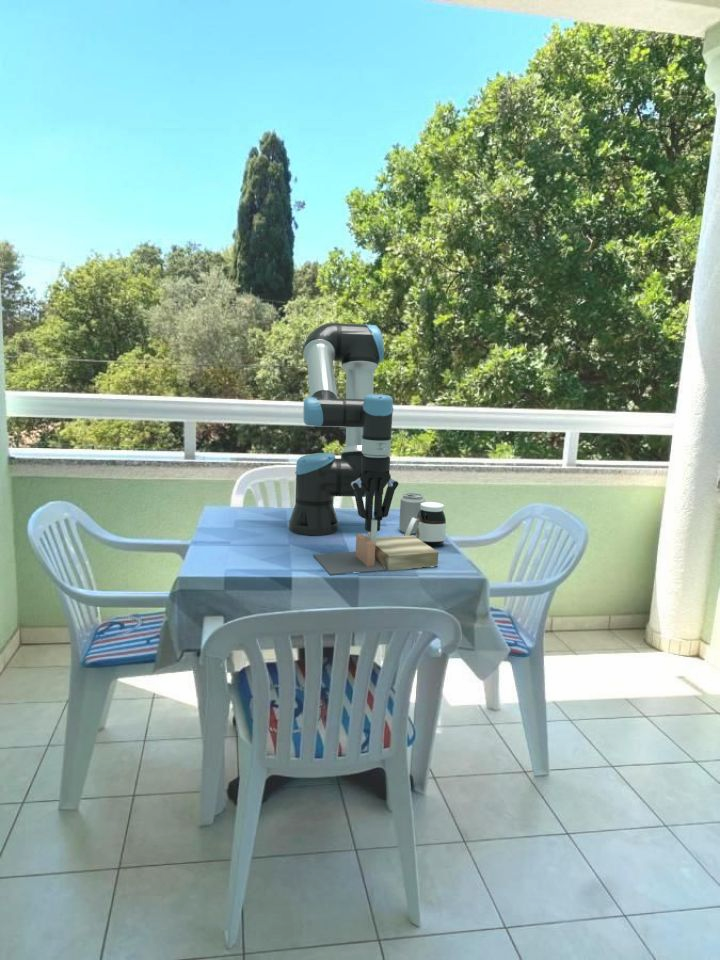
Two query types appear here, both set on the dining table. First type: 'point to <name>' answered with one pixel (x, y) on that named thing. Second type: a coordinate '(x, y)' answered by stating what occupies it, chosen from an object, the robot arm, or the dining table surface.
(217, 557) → the dining table surface
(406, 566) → the wooden block
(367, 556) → the light brown flat block
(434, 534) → the spread jar
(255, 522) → the dining table surface
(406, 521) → the can
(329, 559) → the mat
